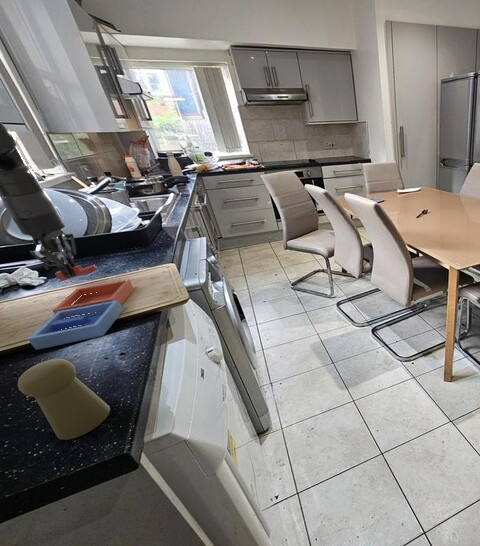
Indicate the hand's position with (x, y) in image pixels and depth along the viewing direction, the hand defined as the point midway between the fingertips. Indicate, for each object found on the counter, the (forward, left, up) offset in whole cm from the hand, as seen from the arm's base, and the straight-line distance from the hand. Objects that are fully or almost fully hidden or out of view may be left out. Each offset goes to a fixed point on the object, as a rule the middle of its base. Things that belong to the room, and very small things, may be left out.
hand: (72, 275), depth 84 cm
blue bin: (+12, -25, -3) cm, 28 cm away
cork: (+24, -54, -3) cm, 59 cm away
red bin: (+10, -14, -3) cm, 18 cm away
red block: (+1, 0, 0) cm, 1 cm away
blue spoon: (+11, -25, -3) cm, 28 cm away
